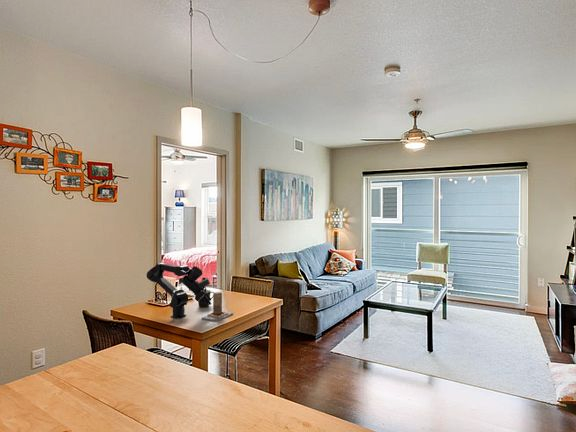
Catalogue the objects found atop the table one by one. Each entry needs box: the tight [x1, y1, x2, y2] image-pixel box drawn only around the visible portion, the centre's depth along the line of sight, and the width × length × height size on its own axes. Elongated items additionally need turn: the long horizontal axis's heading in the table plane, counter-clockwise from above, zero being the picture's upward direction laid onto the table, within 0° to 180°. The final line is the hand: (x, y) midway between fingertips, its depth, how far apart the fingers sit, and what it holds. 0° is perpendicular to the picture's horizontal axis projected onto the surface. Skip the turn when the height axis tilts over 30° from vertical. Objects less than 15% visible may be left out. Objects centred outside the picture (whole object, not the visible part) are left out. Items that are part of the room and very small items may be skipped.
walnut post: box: [212, 291, 223, 316], centre depth 205 cm, size 5×5×13 cm
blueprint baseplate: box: [201, 310, 234, 323], centre depth 205 cm, size 16×11×2 cm, turn 154°
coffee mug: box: [197, 289, 215, 309], centre depth 227 cm, size 12×9×10 cm
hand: (210, 302), depth 204 cm, fingers open, 9 cm apart
